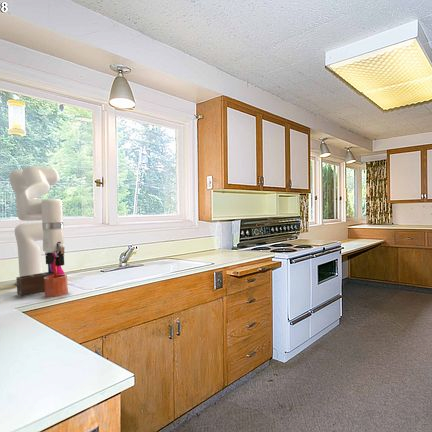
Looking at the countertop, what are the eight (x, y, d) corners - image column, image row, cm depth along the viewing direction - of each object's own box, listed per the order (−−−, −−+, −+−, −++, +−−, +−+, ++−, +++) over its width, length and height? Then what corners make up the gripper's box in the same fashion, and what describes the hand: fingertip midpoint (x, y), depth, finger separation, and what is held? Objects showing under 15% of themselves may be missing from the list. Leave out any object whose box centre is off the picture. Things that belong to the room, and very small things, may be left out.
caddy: (17, 296, 143) (16, 277, 143) (54, 288, 155) (53, 271, 155) (22, 298, 140) (20, 278, 140) (59, 290, 152) (58, 272, 152)
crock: (41, 297, 141) (40, 277, 141) (63, 292, 148) (62, 273, 148) (49, 300, 137) (48, 279, 136) (71, 295, 144) (70, 275, 143)
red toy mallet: (53, 294, 143) (52, 259, 142) (56, 293, 143) (54, 259, 143) (56, 295, 141) (54, 260, 140) (59, 294, 142) (57, 259, 141)
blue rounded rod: (48, 289, 152) (46, 256, 151) (50, 288, 153) (49, 256, 152) (50, 289, 150) (48, 257, 150) (53, 289, 151) (51, 256, 151)
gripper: (34, 226, 142) (36, 264, 143) (51, 227, 133) (53, 268, 134) (54, 225, 149) (56, 261, 150) (71, 226, 139) (73, 264, 140)
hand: (55, 264), depth 142 cm, fingers open, 9 cm apart
